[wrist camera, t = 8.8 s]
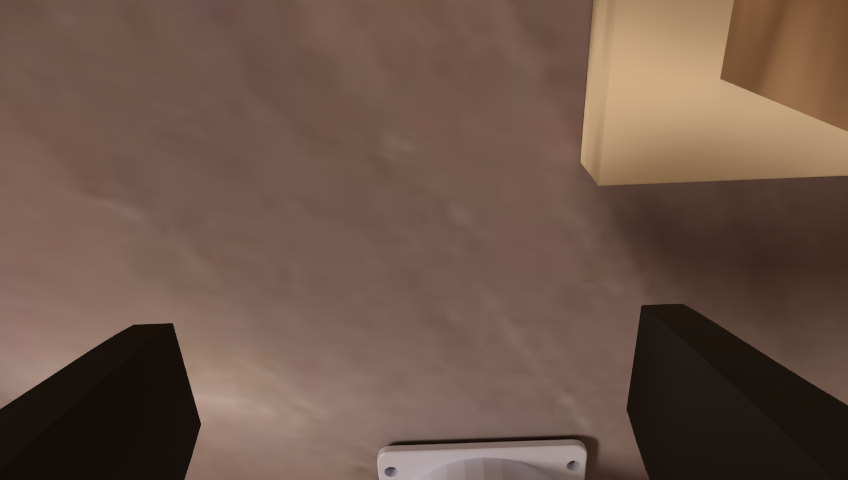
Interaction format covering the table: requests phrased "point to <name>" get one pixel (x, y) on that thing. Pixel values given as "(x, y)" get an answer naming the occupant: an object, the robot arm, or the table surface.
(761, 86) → the walnut block
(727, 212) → the table surface
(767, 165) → the birch base
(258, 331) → the table surface
